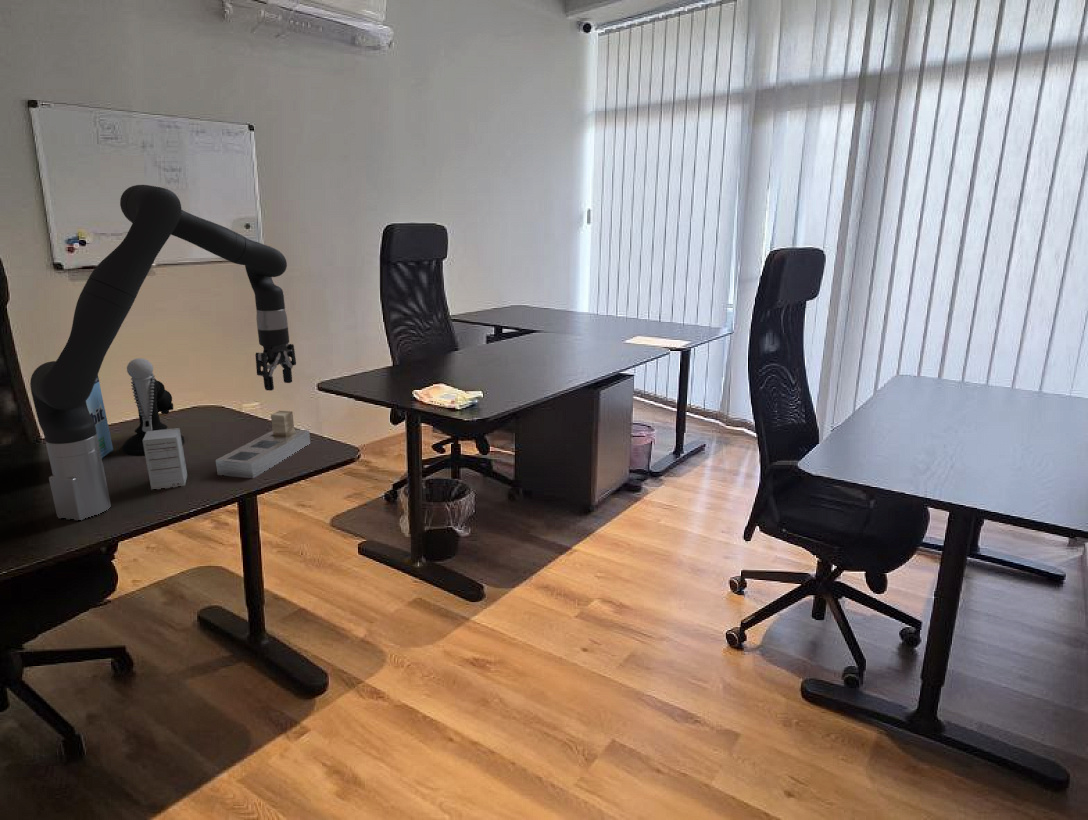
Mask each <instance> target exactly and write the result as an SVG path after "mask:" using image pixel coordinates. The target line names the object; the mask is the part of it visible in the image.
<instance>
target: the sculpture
mask: <svg viewBox="0 0 1088 820" xmlns="http://www.w3.org/2000/svg"><path fill="white" fill-rule="evenodd" d="M126 372H127V374H128V375H129V376H130V380H131V382H130V383H131V390H132V395H133V397H134V398H133V400H134V401H135V402H134V403H135V404H136V408H137V413H138V418H139V419H138V420H139V426H138V427H137V428H136V429H134V432H135V434H134V435H131V437H129V438H128V439H126V441H125V442H124V443H123V444H122V446H121V448H122V449H121V450H122V452H123V453H124V454H126V455H131V456H145V452H144V446H143V441H142V440H143V438H144V436H145V434H146V432H147V431H155V430H164V429H168V425H166V424H164V423H163V422H161V418H160V414H159V413H161V414H162V415H168V414H169V413H170V411H173V410H174V403H173V397H172V394H171V393H170V391H168V390H167V389H165V385H164V383H163V382H162V381H160V380H157V379H156V378H155V377H156V376H155V374H154V373H153V372H154V365H153V364H152V362H150V361H149V360H148V359H145V358H135V359H132V360H130V361H129V362H128V364H127V366H126ZM181 440H182V444H183V445H184V444H185V437H184V436H183V435H181Z"/></svg>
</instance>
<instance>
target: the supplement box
mask: <svg viewBox="0 0 1088 820" xmlns="http://www.w3.org/2000/svg"><path fill="white" fill-rule="evenodd" d="M181 436H182V434H181V429H180V427H178V428H176V427H175V428H167V429H164V430H155V431H147V432H146V434H145V436H144V438H143V440H142V441H143V446H144V452H145V455H144V457H145V463H146V468H147V469H146V470H147V473H148V479H149V484H150V490H151V491H153V490H152V489H157V490H162V489H161V488H165V489H171V488H170V487H173V488H179V487H178V486H181V487H185V486H186V482H187V478H188V471H187V465H186V459H185V458H186V457H185V454H184V453H185V452H184V446H183V445H182V440H181Z"/></svg>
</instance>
